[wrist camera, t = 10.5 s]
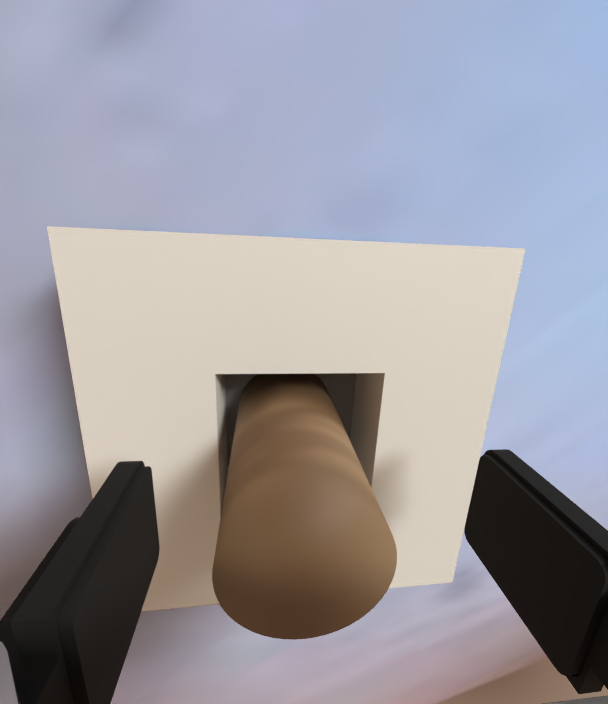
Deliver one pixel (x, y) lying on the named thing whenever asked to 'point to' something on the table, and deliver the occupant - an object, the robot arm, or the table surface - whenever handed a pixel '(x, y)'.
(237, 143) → the table surface
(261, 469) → the pin
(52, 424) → the table surface
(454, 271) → the bore block
